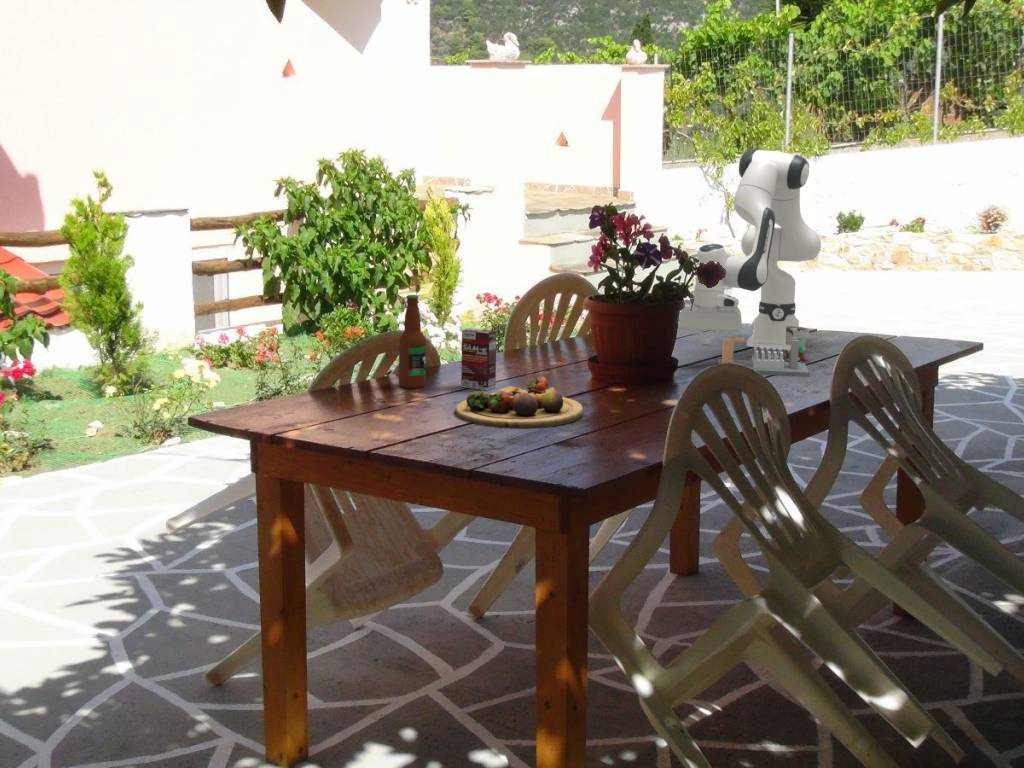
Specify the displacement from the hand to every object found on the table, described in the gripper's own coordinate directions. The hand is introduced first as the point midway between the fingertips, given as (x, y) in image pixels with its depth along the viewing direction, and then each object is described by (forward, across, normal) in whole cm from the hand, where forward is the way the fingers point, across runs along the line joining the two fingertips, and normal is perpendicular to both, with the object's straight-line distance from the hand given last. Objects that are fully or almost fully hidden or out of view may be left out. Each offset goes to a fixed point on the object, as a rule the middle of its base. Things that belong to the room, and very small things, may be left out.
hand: (706, 345), depth 385 cm
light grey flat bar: (0, +19, 0) cm, 19 cm away
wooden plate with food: (+8, -47, -74) cm, 88 cm away
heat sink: (+7, +17, 0) cm, 18 cm away
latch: (+5, +8, 0) cm, 10 cm away
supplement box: (+8, -62, -44) cm, 77 cm away
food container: (+7, +29, +19) cm, 35 cm away
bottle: (+8, -80, -46) cm, 93 cm away
